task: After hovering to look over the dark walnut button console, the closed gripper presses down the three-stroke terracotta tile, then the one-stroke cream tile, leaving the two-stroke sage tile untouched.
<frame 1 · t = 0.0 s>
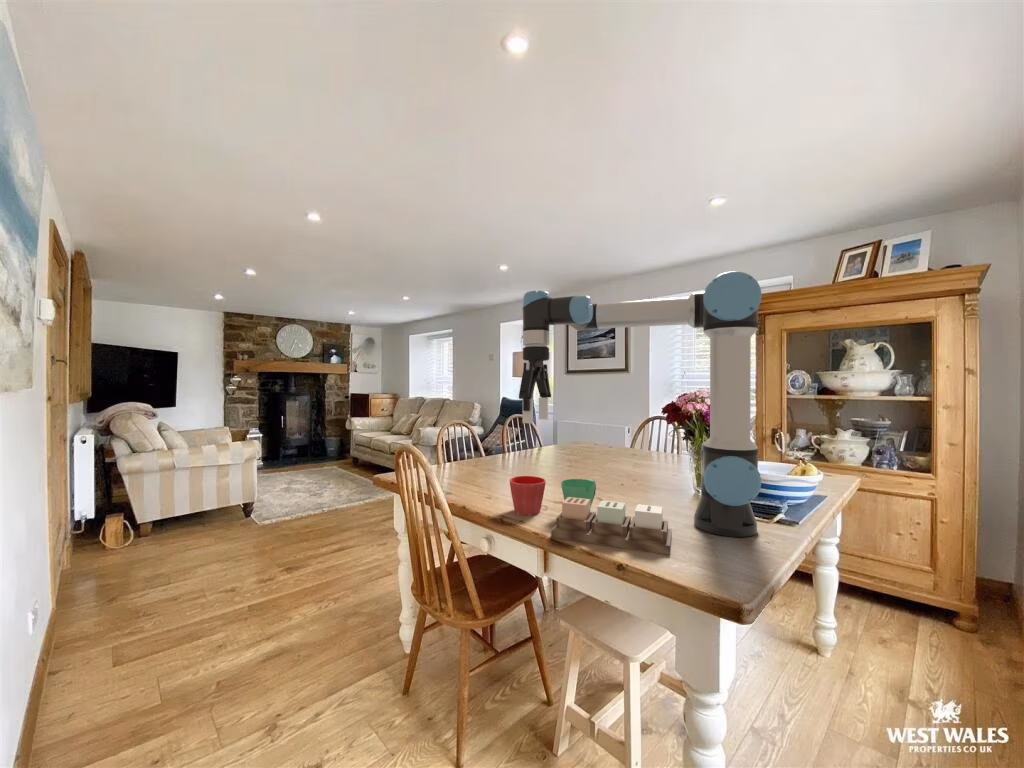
hand: (535, 421, 120), 28 cm above the table, fingers open, 13 cm apart
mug: (581, 515, 124), on the table
tile 1: (649, 516, 103), point 6 cm above the table, slide at 0.0 cm
flower pot: (527, 512, 127), on the table
button console: (611, 537, 106), on the table
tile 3: (576, 508, 109), point 6 cm above the table, slide at 0.0 cm
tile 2: (611, 512, 106), point 6 cm above the table, slide at 0.0 cm
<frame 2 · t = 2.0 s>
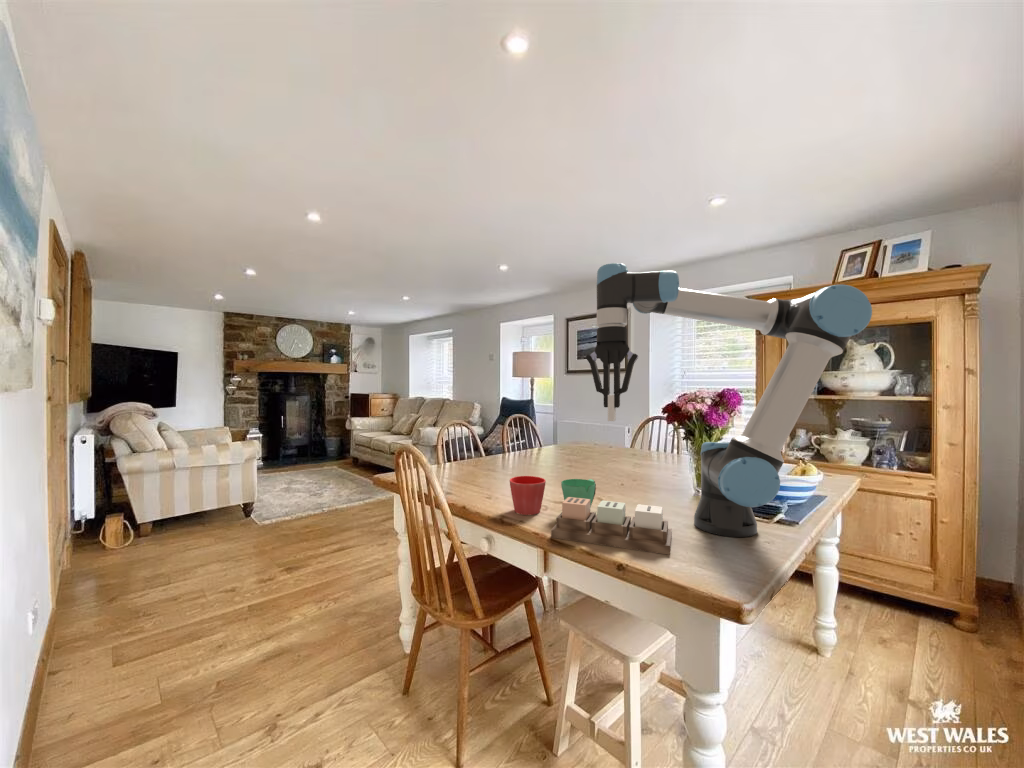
hand: (611, 420, 106), 29 cm above the table, fingers closed
nothing on the table moved.
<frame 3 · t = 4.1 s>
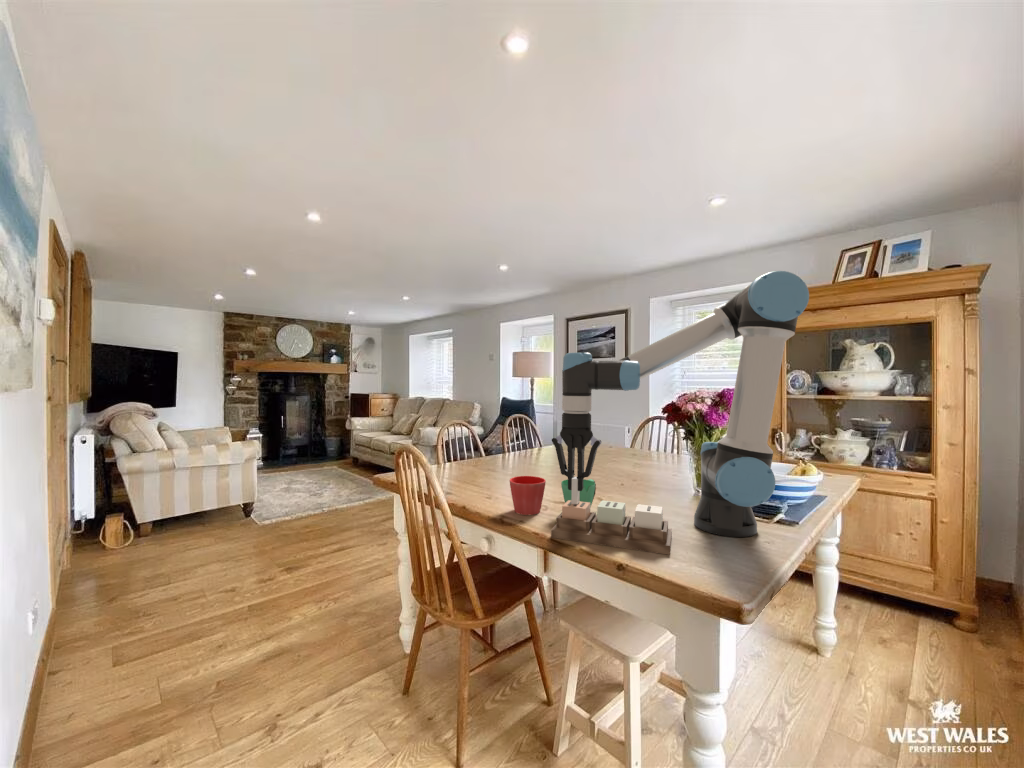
hand: (575, 502, 109), 8 cm above the table, fingers closed
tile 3: (576, 511, 109), point 5 cm above the table, slide at 0.9 cm, touching gripper
everything else where it was.
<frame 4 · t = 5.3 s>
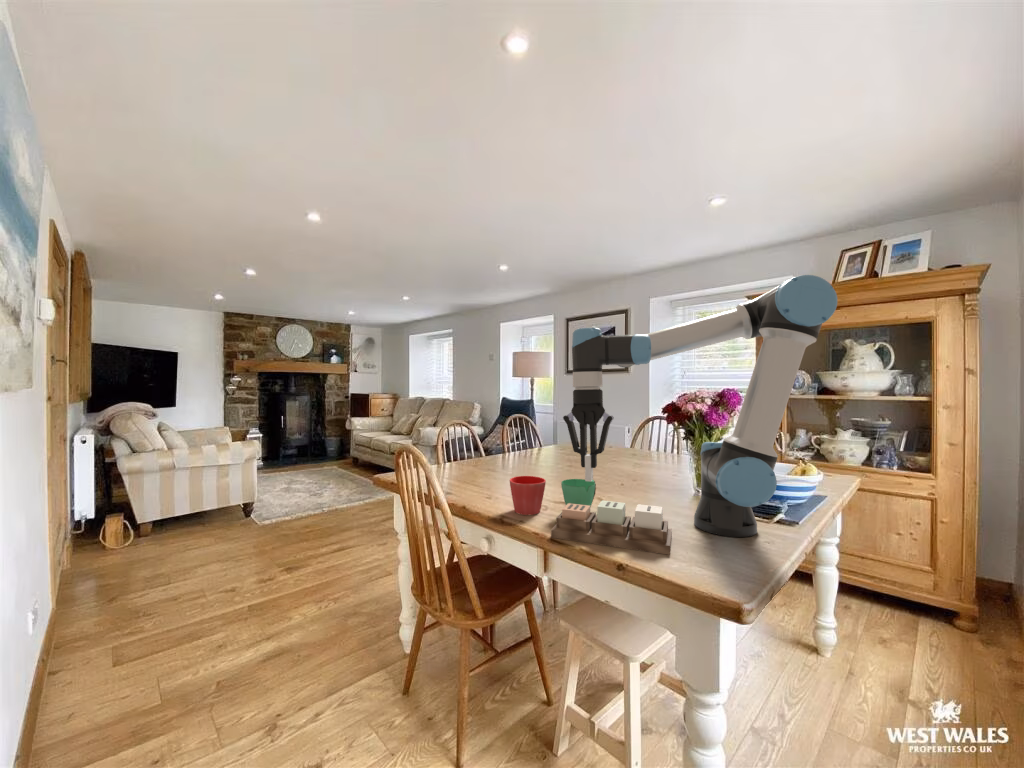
hand: (589, 480, 108), 14 cm above the table, fingers closed
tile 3: (576, 514, 109), point 5 cm above the table, slide at 1.7 cm
everything else where it was.
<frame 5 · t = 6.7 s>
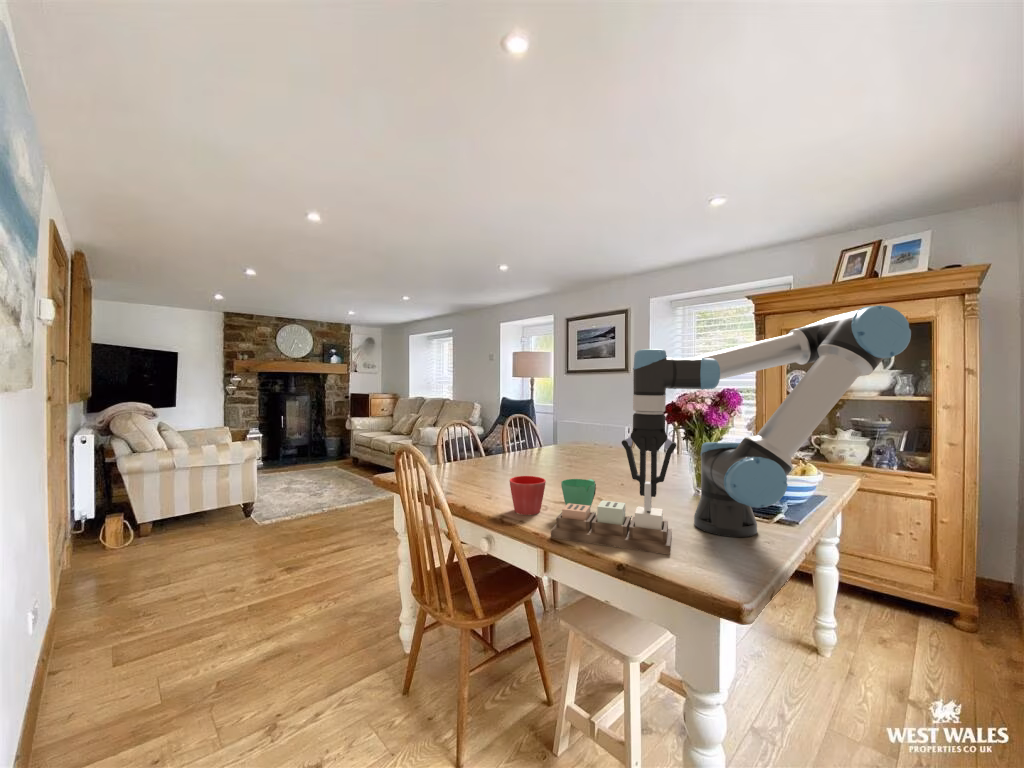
hand: (647, 509, 103), 8 cm above the table, fingers closed
tile 1: (649, 518, 103), point 6 cm above the table, slide at 0.6 cm, touching gripper
everything else where it was.
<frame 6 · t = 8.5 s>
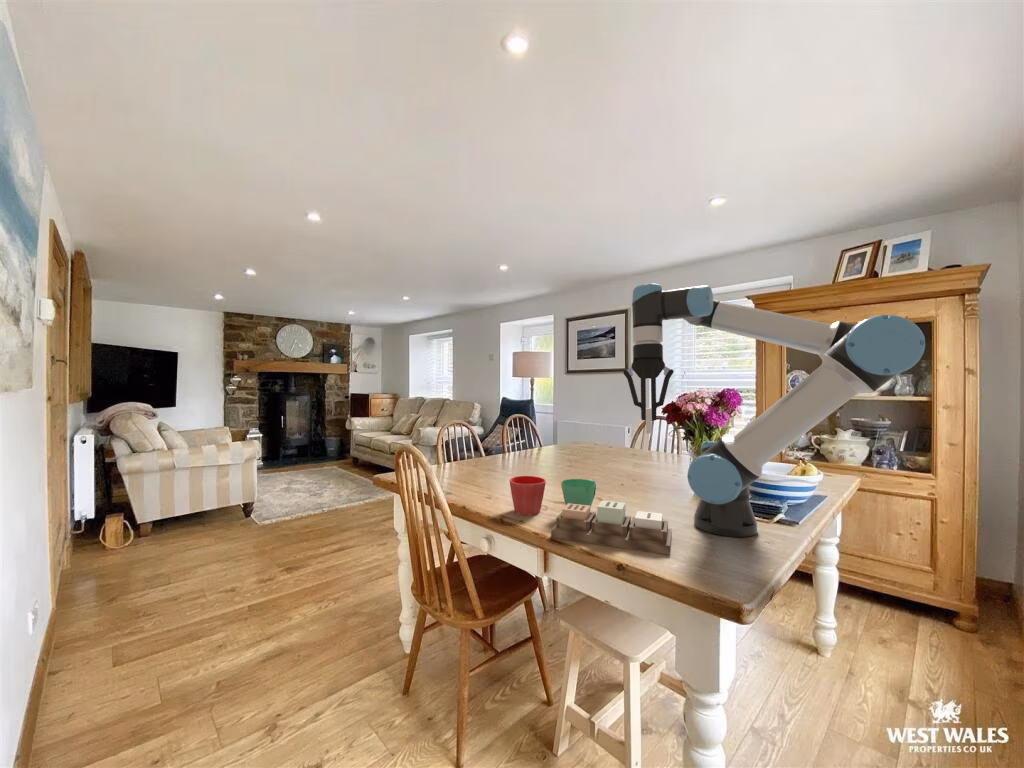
hand: (649, 432, 111), 26 cm above the table, fingers closed
tile 1: (649, 523, 103), point 5 cm above the table, slide at 1.7 cm
everything else where it was.
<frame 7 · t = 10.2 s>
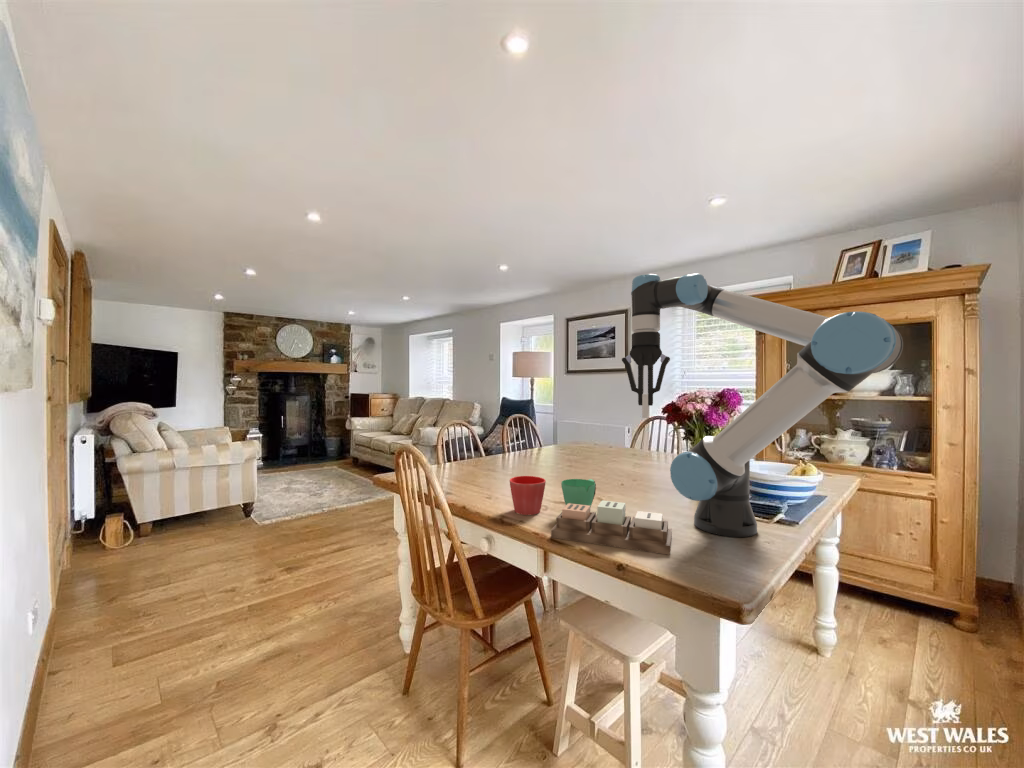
hand: (645, 417, 116), 29 cm above the table, fingers closed
nothing on the table moved.
at the end: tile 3 slide at 1.7 cm; tile 1 slide at 1.7 cm; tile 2 slide at 0.0 cm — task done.
